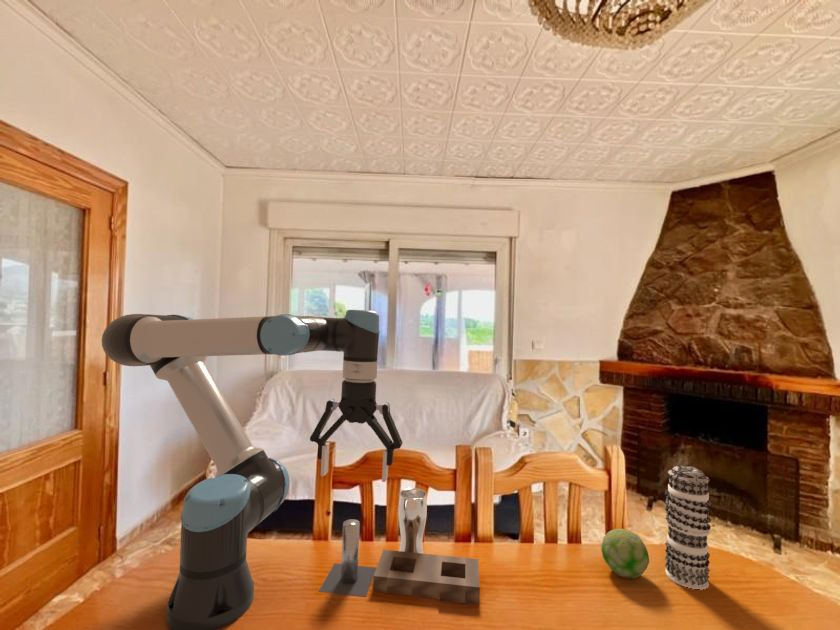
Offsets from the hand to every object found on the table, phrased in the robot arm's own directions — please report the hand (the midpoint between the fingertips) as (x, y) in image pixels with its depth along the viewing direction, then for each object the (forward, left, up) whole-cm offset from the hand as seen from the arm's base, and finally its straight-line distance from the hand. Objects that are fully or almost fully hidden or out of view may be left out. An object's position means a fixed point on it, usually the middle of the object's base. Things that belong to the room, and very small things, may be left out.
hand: (354, 476), depth 88 cm
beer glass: (+12, +12, -23) cm, 28 cm away
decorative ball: (+62, +13, -23) cm, 67 cm away
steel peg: (0, 0, -22) cm, 22 cm away
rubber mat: (0, 0, -22) cm, 22 cm away
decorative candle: (+76, +14, -23) cm, 80 cm away
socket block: (+17, +2, -22) cm, 28 cm away
